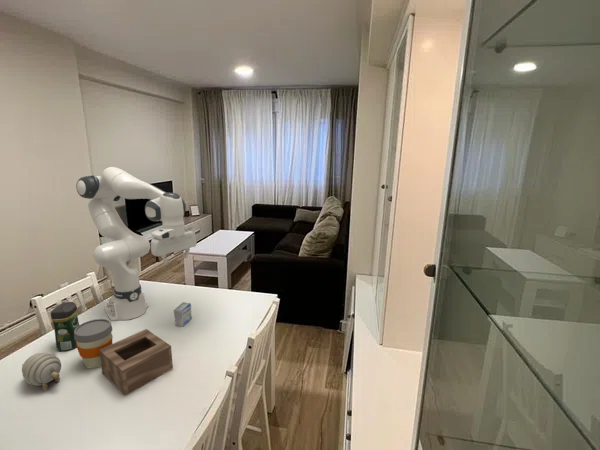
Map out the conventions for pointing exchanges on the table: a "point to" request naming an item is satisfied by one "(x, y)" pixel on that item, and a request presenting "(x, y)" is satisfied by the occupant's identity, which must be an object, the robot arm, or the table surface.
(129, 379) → the box
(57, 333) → the coffee jar
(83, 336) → the reusable coffee cup
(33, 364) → the toy sheep
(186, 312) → the medicine box
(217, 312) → the table surface
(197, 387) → the table surface
